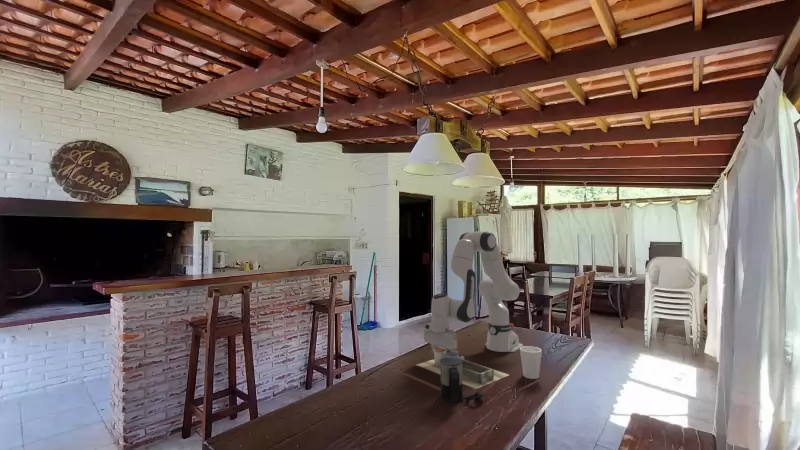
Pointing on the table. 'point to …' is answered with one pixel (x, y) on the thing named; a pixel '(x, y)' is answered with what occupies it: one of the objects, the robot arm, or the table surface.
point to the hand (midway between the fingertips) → (440, 355)
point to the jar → (438, 355)
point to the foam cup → (531, 361)
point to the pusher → (462, 360)
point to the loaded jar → (452, 354)
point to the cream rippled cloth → (470, 373)
